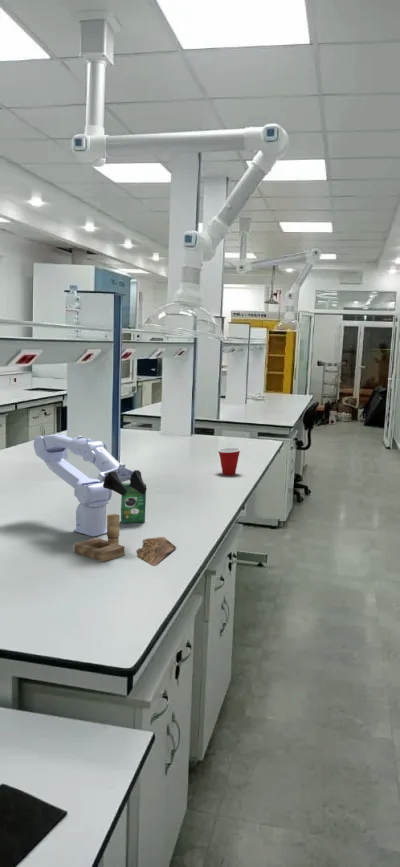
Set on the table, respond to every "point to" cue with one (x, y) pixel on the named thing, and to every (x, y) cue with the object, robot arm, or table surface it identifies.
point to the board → (99, 549)
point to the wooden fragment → (155, 550)
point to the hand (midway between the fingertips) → (135, 492)
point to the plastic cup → (229, 460)
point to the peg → (113, 528)
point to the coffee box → (133, 505)
